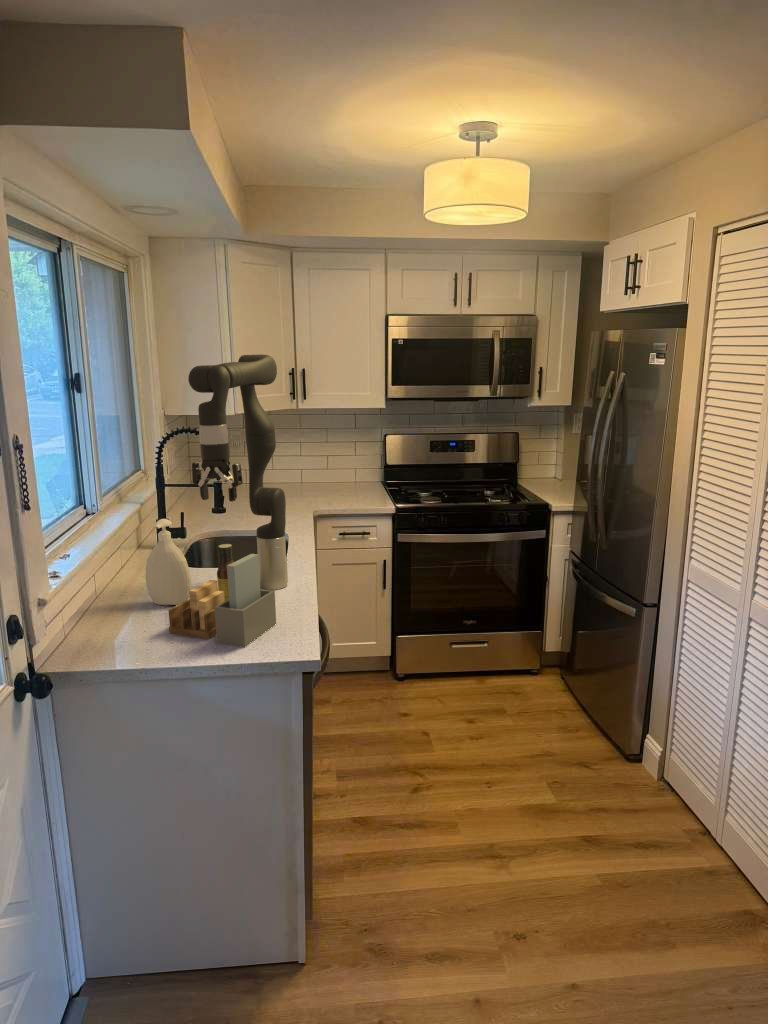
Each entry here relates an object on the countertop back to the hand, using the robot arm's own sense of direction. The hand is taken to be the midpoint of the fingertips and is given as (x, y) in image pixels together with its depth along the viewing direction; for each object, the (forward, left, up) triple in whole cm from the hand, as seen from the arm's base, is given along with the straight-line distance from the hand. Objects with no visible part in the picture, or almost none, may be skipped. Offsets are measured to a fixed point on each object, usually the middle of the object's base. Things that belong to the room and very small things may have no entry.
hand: (218, 500), depth 182 cm
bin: (+5, +10, -36) cm, 37 cm away
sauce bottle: (-10, -6, -36) cm, 38 cm away
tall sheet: (+5, +10, -35) cm, 36 cm away
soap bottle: (-7, -26, -36) cm, 45 cm away
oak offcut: (+4, -4, -34) cm, 34 cm away
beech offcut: (+6, 0, -34) cm, 34 cm away
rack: (+5, -4, -36) cm, 36 cm away
